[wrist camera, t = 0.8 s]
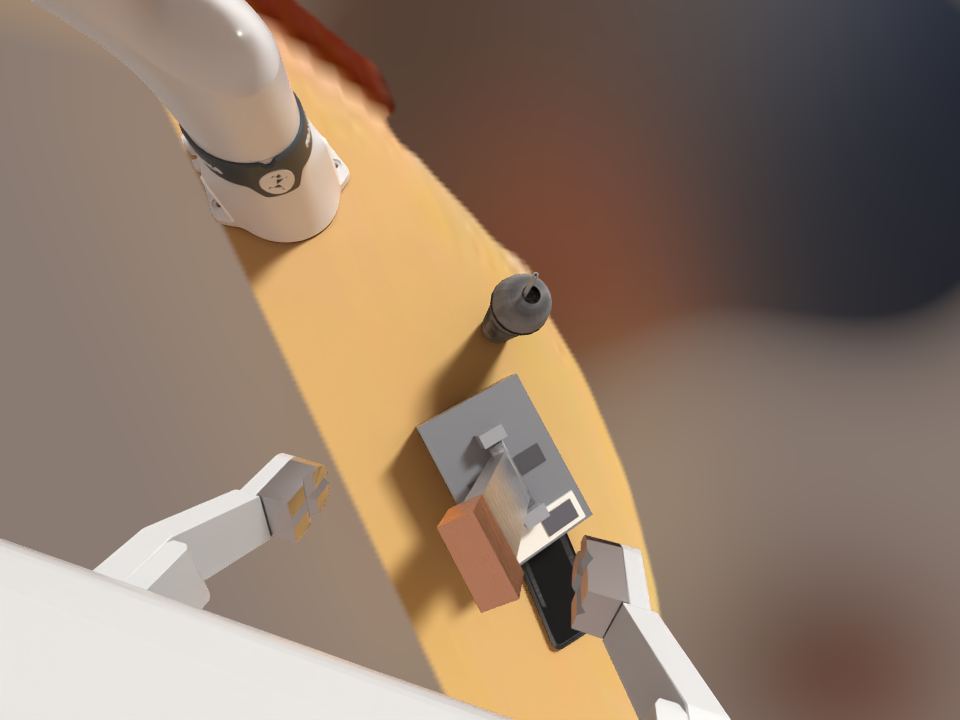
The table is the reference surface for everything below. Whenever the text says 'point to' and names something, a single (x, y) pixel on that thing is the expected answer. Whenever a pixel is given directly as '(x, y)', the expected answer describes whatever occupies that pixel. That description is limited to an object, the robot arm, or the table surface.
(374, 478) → the table surface
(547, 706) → the table surface
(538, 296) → the beverage cup
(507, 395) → the switch box
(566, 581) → the phone
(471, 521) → the lever
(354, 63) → the table surface
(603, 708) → the table surface
